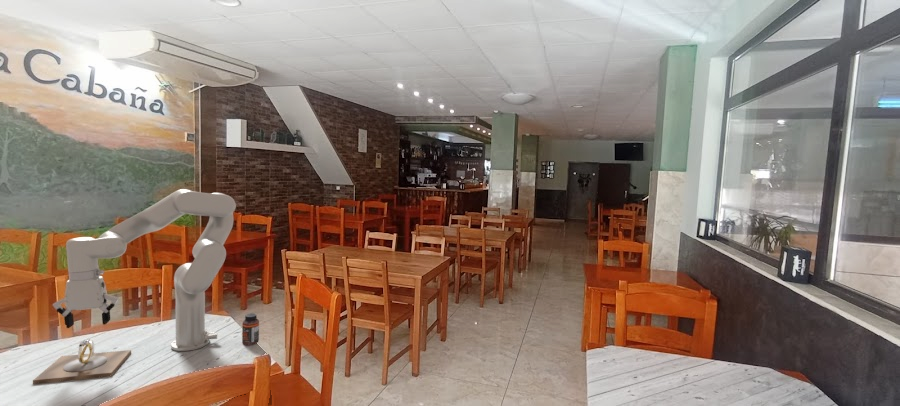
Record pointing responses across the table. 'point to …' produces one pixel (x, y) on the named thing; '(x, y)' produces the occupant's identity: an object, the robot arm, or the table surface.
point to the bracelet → (80, 355)
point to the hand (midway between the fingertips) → (88, 324)
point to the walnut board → (83, 367)
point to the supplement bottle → (250, 329)
